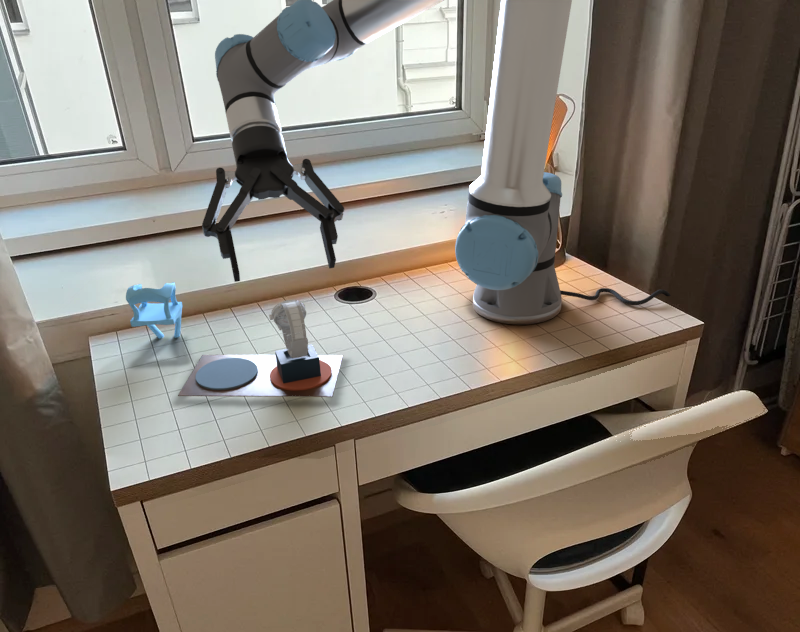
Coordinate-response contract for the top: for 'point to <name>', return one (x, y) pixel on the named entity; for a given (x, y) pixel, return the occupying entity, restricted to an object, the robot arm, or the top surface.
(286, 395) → the desk board
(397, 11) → the robot arm
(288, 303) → the watch
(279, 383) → the terracotta pad
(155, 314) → the chair
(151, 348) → the top surface
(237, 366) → the slate pad
